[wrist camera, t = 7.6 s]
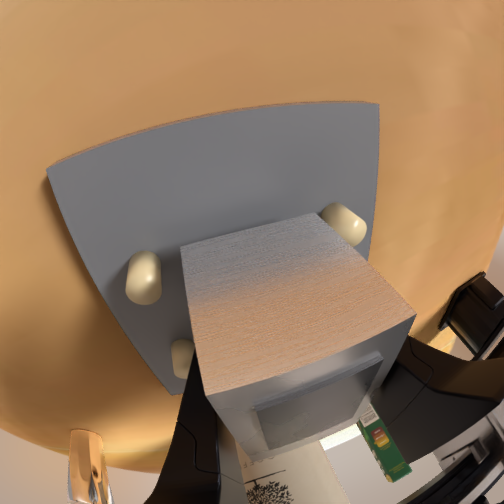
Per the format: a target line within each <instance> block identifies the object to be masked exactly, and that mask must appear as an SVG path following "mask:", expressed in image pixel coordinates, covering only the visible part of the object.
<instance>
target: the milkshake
mask: <svg viewBox="0 0 504 504" xmlns="http://www.w3.org/2000/svg"><path fill="white" fill-rule="evenodd" d="M67 495H68V496H67V498H68V504H115V503H114V500H113V496H112V492H111V489H110V484H109V480H108V474H107V469H106V463H105V457H104V450H103V443H102V437H100V436H99V435H98V434H96V433H93V432H91V431H87V430H81V429H75V430H72V431H71V435H70V448H69V467H68V491H67Z"/></svg>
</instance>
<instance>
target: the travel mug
mask: <svg viewBox="0 0 504 504" xmlns="http://www.w3.org/2000/svg"><path fill="white" fill-rule="evenodd" d="M234 439H235V438H234ZM235 444H236V449H237V454H238V458H239V463H240V468H241V472H242V477H243V481H244V486H245V490H246V494H247V498H248V502H249V504H350V502H349V500H348V498H347V496H346V494H345V492H344V490H343V488H342V486H341V484H340V482H339V480H338V478H337V476H336V474H335V472H334V470H333V468H332V466H331V464H330V462H329V460H328V458H327V455H326V453H325V451H324V449H323V447H322V445H321V443H320V441H319V440H318V441H315V442H313V443H310V444H307V445H305V446H302V447H299V448H297V449H294V450H291V451H288V452H285V453H282V454H279V455H276V456H273V457H270V458H266V459H263V460H259V461H256V462H252V461H251V459H250V458H249V457H248V456H247V454H246V453H245V452H244V450H243V449H242V448H241V446H240V445H239V444H238V442H237V441H236V440H235Z"/></svg>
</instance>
